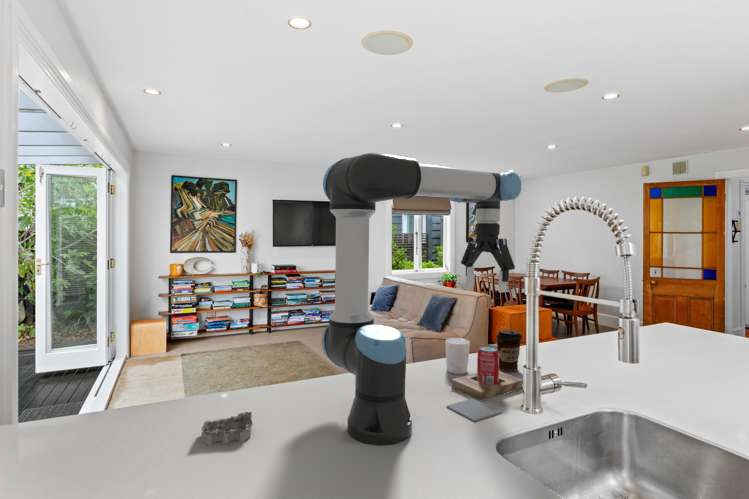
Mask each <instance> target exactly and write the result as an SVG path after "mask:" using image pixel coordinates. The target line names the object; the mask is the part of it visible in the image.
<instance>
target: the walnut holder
mask: <svg viewBox="0 0 749 499" xmlns="http://www.w3.org/2000/svg"><path fill="white" fill-rule="evenodd" d="M522 384H523V385H524V379H521V378H519V377H516V376H514V375H511V374H508V373H505V372H504V371H501V370H499V383H498V384H494V385H491V386H487V385H485V384H482V383H480V382H478V381H477V372H475V373H472V374H468V375H464V376H460V377H455V378H452V379H451V388H452V389H453V390H456V391H458V392H461V393H463V394H465V395H467V396H470V397H472V398H474V399H477V400H479V401H481V402H482V401H485V400H489V399H492V398H496V397H498V395H499V396H501V395H502V396H503V395H505V394H504V393H506V394H508V393H507V392H509V393H511V391H512V392H515V391H514V390H516V391H518V390H517V389H519V390H521V389H520V388H522ZM522 389H523V388H522Z"/></svg>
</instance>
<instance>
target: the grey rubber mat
mask: <svg viewBox="0 0 749 499" xmlns="http://www.w3.org/2000/svg"><path fill="white" fill-rule="evenodd" d="M446 408H447V409H450V410H451V411H453V412H455V413H457V414H459V415H461V416H462V417H464V418H466V419H468V420H470V421H472V422H474V423H475V422H478V421H481V420H484V419H487V418H490V417H491V418H492V417H495V416H496V415H501V414H503V411H502V410H500V409H498V408H496V407H494V406H491V405H490V404H487V403H485V402H482V401H480V400H478V399H476V398H473V397H472V398H468V399H465V400H461V401H459V402H454V403H451V404H448V405H446Z"/></svg>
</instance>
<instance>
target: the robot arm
mask: <svg viewBox="0 0 749 499" xmlns="http://www.w3.org/2000/svg"><path fill="white" fill-rule="evenodd" d="M322 189H323V192H324V195H325V196H326V197H327V199H328V200H329V211H330V213H332V215H333V216H334V217H335V268H334V269H335V270H334V273H335V274H334V275H335V276H334V277H335V279H334V280H335V281H334V282H335V284H334V285H335V286H334V288H335V289H334V296H335V297H334V311H333V312H332V313H331V314H329V316H328V324H327V326H326V328H324V330H323V332H322V336H321V348H322V350H323V353H324V355H325V357H326V358H328V360H330V361H331V362H332V363H333V364H334V365H335V366H337V367H339V368H342V369H344V370H346V371H347V372H349V373H351V375H354V376H355V380H354V381H355V382H354V384H355V385H354V386H355V389H354V390H355V393H354V394H355V396H354V399H353V401H352V405H351V408H350V411H349V414H348V416H347V421H346V422H347V426H346V427H347V428H346V429H347V430H346V431H347V433H348V434H349V436H351V437H352V438H353V439H354V440H357V441H360V442H361V443H365V444H369V445H380V446H381V445H382V446H383V445H393V444H397V443H399V442H402V441H404V440H406V439H407V438H409V437H410V435H411V434H412V431H413V430H412V429H413V421H412V420H413V419H412V417H411V413H410V410H409V407H408V402H407V400H406V371H407V370H406V369H407V368H406V367H407V365H406V364H407V353H408V352H407V351H408V350H407V344H406V343H407V342H406V337H405V335H404V334H403V333H402V331H400V330H398V329H397V328H395V327H391V326H385V325H382V324H375V323H374V321H375V316H374V315H373V314H372V313H371V312H370V311H369V276H370V275H369V273H370V272H369V271H370V270H369V269H370V267H369V264H370V254H369V253H370V218H371V217H372V216H373V215H374V214H375V213H376V206H377V205H376V204H377V202H384V201H390V200H404V199H405V200H411V199H413V198H415V197H416V196H419V197H420V196H422V197H423V196H424V197H433V198H434V197H435V198H436V197H437V198H447V199H448V200H450V201H451V202H454V203H459V204H460V203H463V204H464V203H467V204H475V222H476V223H475V225H474V226H475V229H474V230H475V231H474V234H475V235H476V237H475V236H471V237H468V241H467V242H468V243H467V246H466V249H465V251H464V254H463V256H462V259H461V261H460V264H461V265H463V266H465V277H466V282H465V283H466V285H465V286H466V288H471V287H474V286H475V266H474V264H475V263H476V261H477V260H478V259H479V257H480V256H481V254H482V253H484V252H485V253H490V254H491V255H492V256H493V258H494V260H495V262H496V263H497V265H498V266H499V268H500V270H499V271H498V293H500V294H501V293H507V287H508V286H507V284H508V282H509V277H510V275H509V272H510V271H511V270H515V269H516V266H515V264H514V261H513V258H512V255H511V253H510V249H509V247H508V240H507V238H499V235H500V231H501V230H500V228H501V227H500V226H501V225H500V223H499V222H500V221H501V201H503V202H507V201H513V200H515V199H517V198H518V197H520V195H521V192H522V181H521V178H520V176H519V175H518V174H517V173H515V172H512V171H510V172H506V171H505V172H500V173H499V172H498V173H497V172H487V171H481V170H473V169H463V168H456V167H448V166H447V167H446V166H439V165H432V164H423V163H420V162H419V161H418V160H416V159H415V158H411V157H404V156H397V155H393V154H387V153H386V154H385V153H377V152H368V153H364V154H361V155H355V156H351V157H345V158H342V159H340V160H338V161H336V162H334V163H332V164H331V165H330V166H329V167H328V168H327V170H326V172H325V173H324V176H323V180H322Z"/></svg>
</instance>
